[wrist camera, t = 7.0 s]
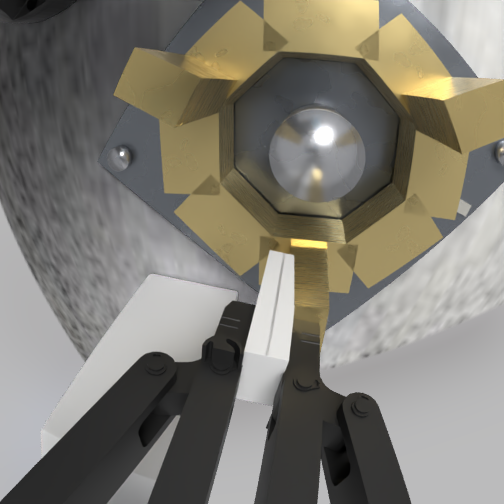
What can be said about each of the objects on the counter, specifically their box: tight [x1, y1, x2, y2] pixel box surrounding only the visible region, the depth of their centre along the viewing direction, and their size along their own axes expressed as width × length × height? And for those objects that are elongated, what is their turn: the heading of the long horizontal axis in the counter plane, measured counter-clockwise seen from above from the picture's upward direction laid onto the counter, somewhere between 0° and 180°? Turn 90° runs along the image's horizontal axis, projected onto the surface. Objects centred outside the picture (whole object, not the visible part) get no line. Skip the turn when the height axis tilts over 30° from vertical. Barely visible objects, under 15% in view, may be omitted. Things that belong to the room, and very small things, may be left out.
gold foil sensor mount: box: [113, 0, 504, 352], centre depth 13 cm, size 15×15×8 cm
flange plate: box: [97, 0, 504, 331], centre depth 15 cm, size 20×20×6 cm
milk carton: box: [41, 274, 238, 504], centre depth 18 cm, size 7×7×19 cm
